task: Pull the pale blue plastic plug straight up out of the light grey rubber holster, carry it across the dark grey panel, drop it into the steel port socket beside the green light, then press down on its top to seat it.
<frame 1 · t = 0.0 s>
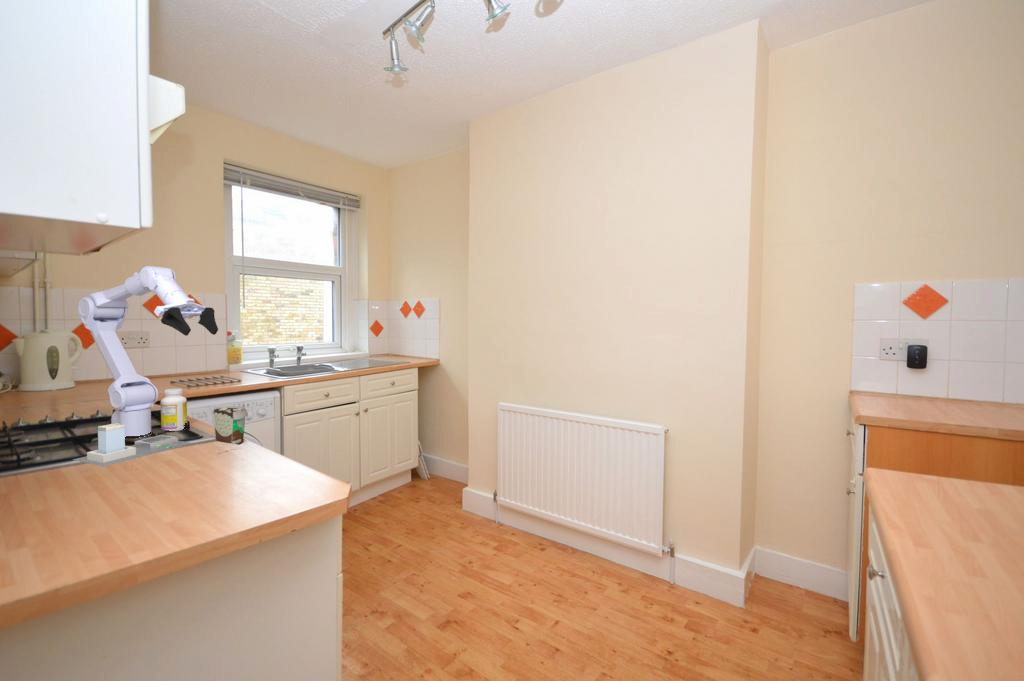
hand: (202, 332, 121), 32 cm above the worktop, tool tilted 50°, fingers open, 7 cm apart
holster: (112, 460, 113), resting on panel
plug: (112, 456, 113), point 1 cm above the worktop, touching panel
food container: (234, 442, 132), on the worktop
supplement bottle: (174, 430, 143), on the worktop
panel: (136, 454, 118), on the worktop
port: (156, 449, 123), resting on panel
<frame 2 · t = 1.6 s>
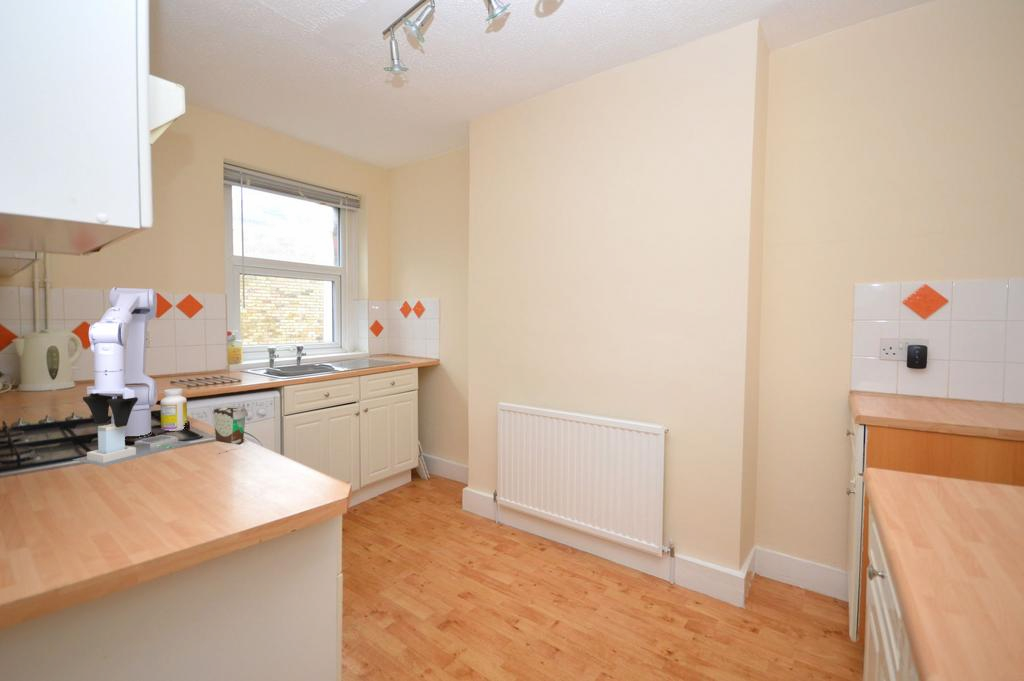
hand: (111, 424, 112), 9 cm above the worktop, tool pointing down, fingers open, 7 cm apart
nothing on the worktop moved.
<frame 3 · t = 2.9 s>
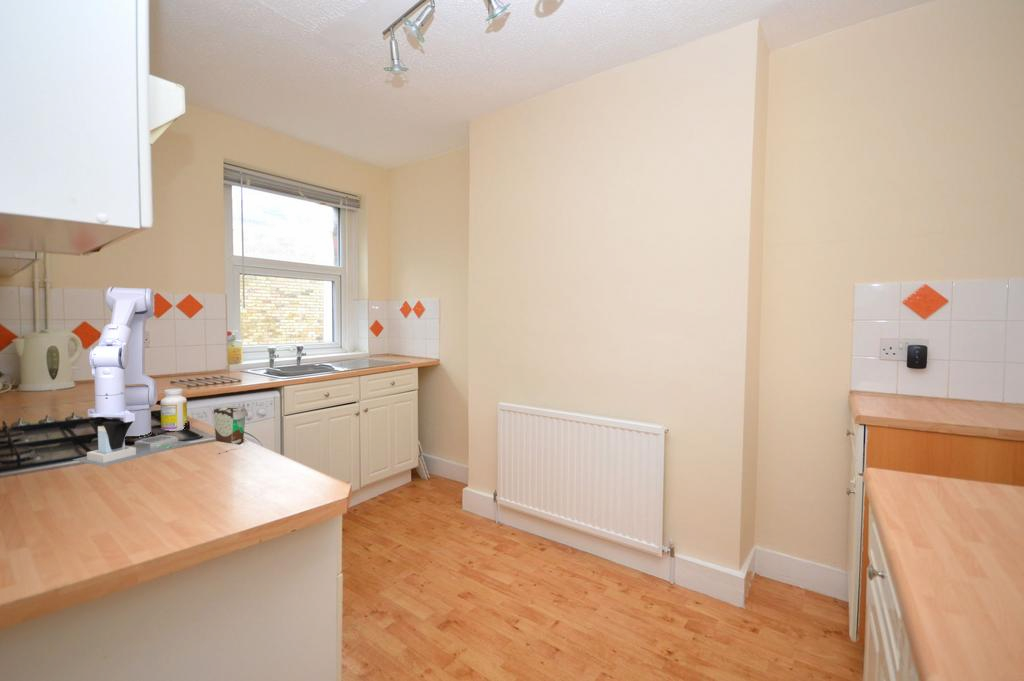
hand: (111, 447, 113), 3 cm above the worktop, tool pointing down, fingers closed on plug, 3 cm apart
plug: (112, 456, 113), point 1 cm above the worktop, touching gripper, panel
everything else where it was.
when the fingers open (4 cm above the worktop, at t = 6.7 s): plug stays where it is, resting on panel.
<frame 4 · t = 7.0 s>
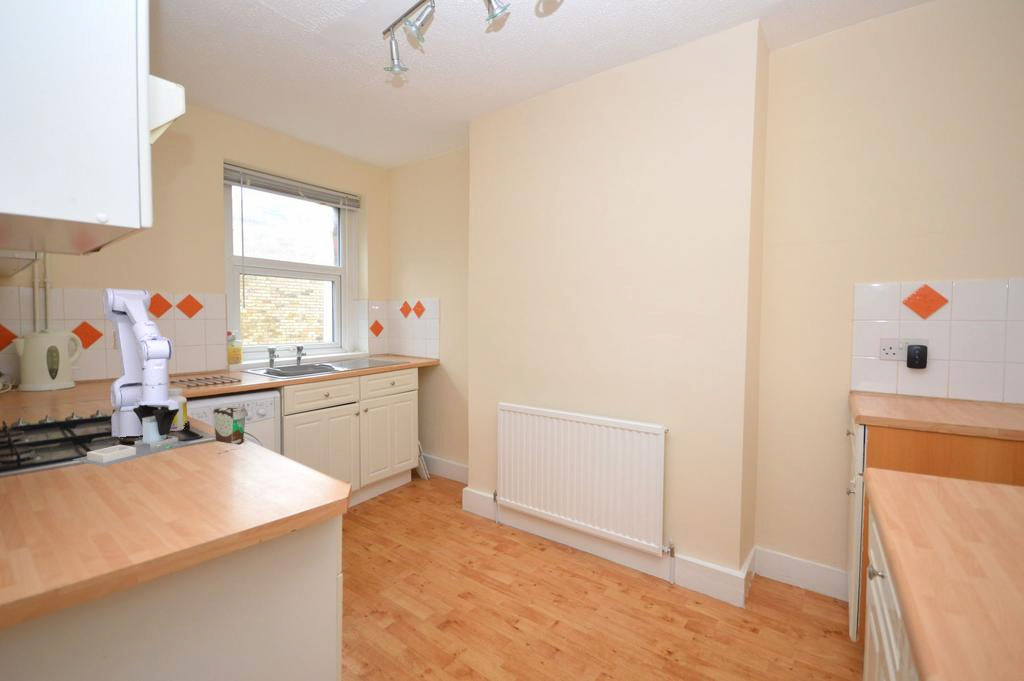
hand: (156, 433, 123), 4 cm above the worktop, tool pointing down, fingers open, 5 cm apart
plug: (154, 446, 122), point 1 cm above the worktop, touching panel
everything else where it was.
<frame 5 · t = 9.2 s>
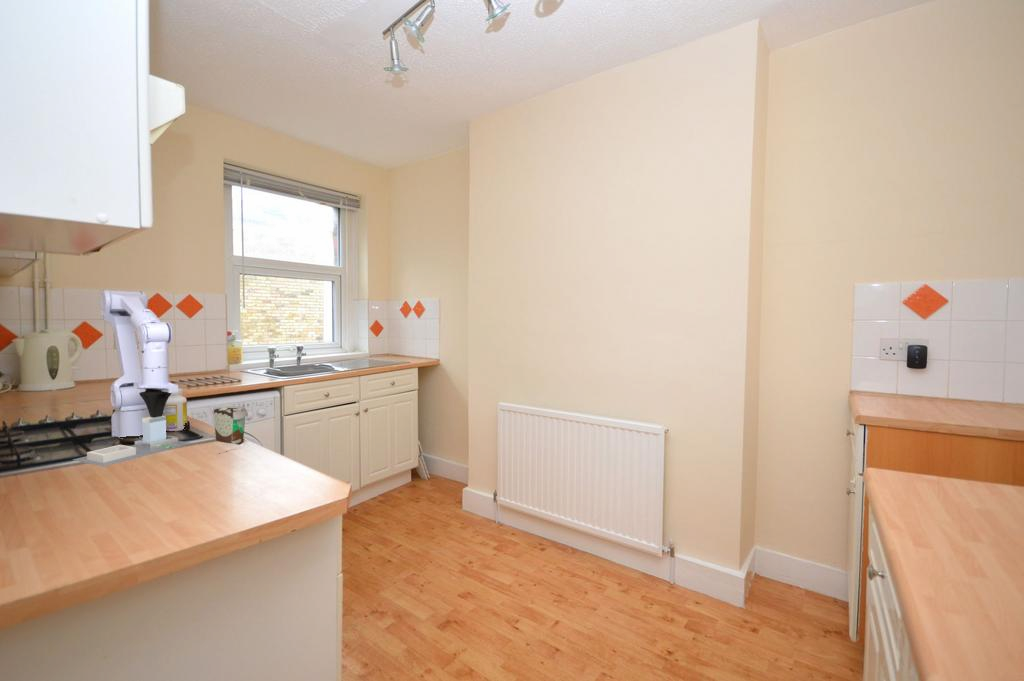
hand: (156, 416, 122), 9 cm above the worktop, tool pointing down, fingers closed, pressing on plug
plug: (154, 446, 122), point 1 cm above the worktop, touching gripper, panel
everything else where it was.
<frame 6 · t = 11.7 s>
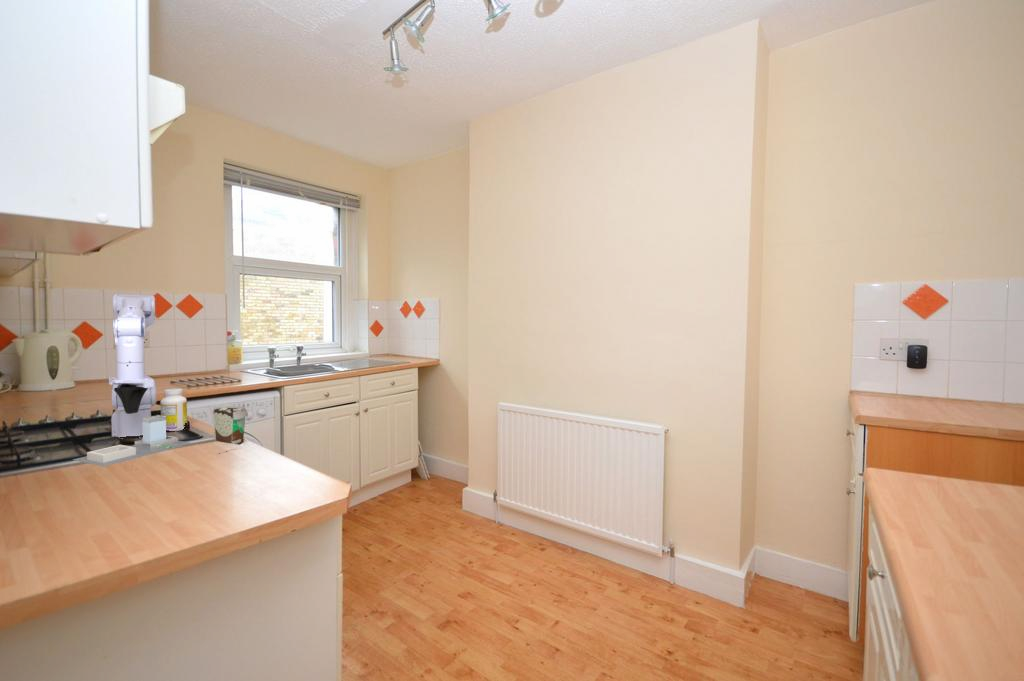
hand: (131, 413, 120), 10 cm above the worktop, tool pointing down, fingers closed
plug: (154, 446, 122), point 1 cm above the worktop, touching panel
everything else where it was.
at the end: plug 0.5 cm off-centre on the port, point 1.0 cm above the port's base; plug tilted 0°; the gripper is holding nothing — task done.
